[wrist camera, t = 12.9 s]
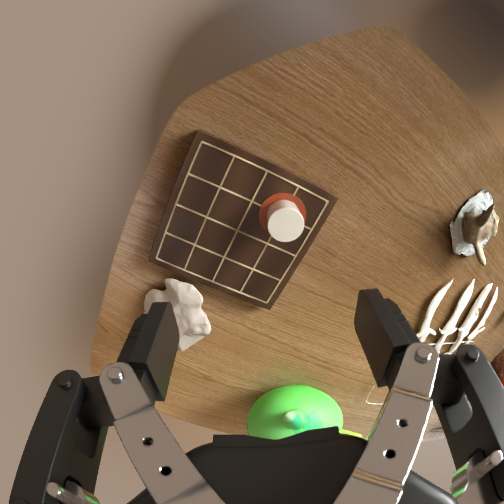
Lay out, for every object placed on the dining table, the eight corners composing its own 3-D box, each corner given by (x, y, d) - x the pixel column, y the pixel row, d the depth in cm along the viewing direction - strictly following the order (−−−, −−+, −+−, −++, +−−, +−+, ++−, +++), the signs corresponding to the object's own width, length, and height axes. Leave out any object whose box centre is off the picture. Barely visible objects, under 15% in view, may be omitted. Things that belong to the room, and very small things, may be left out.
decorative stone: (164, 259, 38) (135, 320, 45) (152, 273, 35) (125, 335, 42) (231, 301, 40) (189, 354, 47) (224, 318, 36) (182, 370, 43)
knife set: (511, 281, 41) (514, 284, 40) (440, 394, 56) (441, 397, 55) (433, 271, 39) (436, 275, 38) (358, 404, 55) (360, 408, 54)
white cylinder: (260, 223, 34) (261, 233, 32) (275, 194, 33) (278, 201, 30) (290, 236, 35) (293, 247, 32) (306, 208, 33) (310, 217, 31)
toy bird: (234, 402, 53) (231, 465, 40) (277, 355, 46) (284, 430, 33) (305, 419, 57) (312, 475, 44) (354, 379, 50) (373, 441, 37)
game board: (151, 255, 38) (147, 261, 36) (199, 129, 31) (197, 130, 29) (269, 303, 41) (269, 310, 40) (335, 194, 34) (339, 198, 33)
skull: (449, 259, 39) (469, 280, 34) (448, 199, 33) (474, 218, 28) (488, 235, 38) (508, 253, 33) (489, 177, 32) (515, 193, 27)
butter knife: (465, 428, 72) (470, 424, 71) (428, 433, 68) (434, 428, 67) (465, 427, 73) (470, 423, 71) (427, 431, 69) (434, 427, 67)
